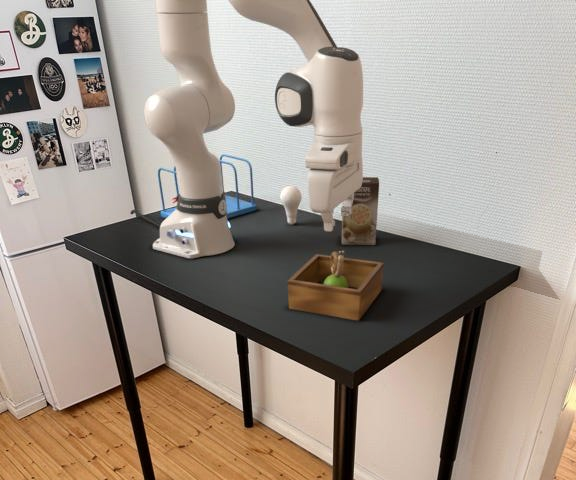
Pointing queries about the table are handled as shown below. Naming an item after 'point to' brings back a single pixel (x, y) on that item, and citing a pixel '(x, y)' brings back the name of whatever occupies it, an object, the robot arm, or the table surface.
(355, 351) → the table surface
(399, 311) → the table surface
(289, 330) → the table surface
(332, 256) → the snail figurine
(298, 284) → the open wooden box
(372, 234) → the coffee box
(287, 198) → the lightbulb
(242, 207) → the file sorter
